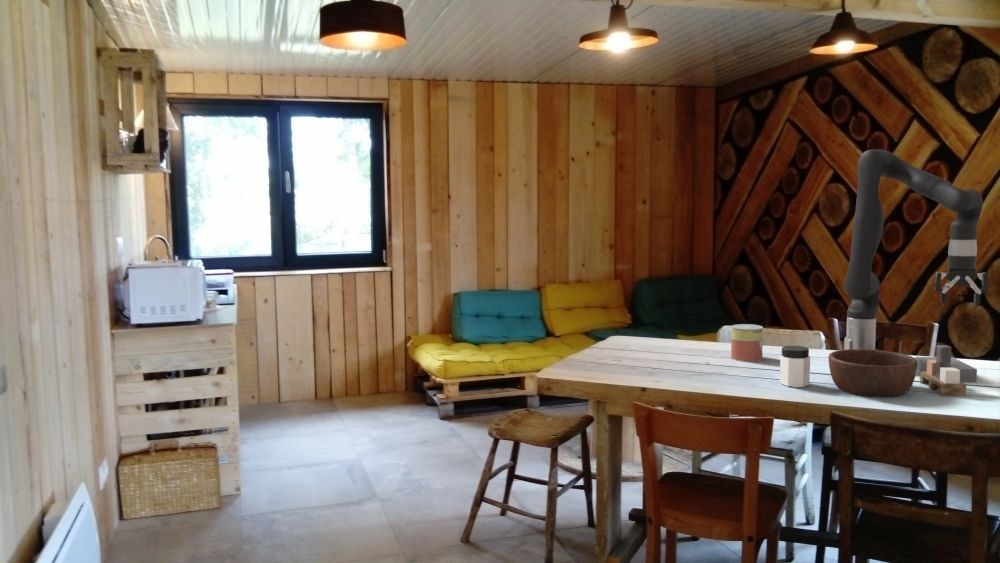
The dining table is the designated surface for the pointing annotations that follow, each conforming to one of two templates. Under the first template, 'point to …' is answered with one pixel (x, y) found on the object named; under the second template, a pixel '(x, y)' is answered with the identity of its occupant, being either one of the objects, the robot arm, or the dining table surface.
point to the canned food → (746, 342)
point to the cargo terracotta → (931, 367)
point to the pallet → (942, 385)
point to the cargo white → (949, 375)
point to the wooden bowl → (872, 372)
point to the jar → (795, 366)
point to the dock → (965, 370)
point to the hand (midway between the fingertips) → (960, 305)
